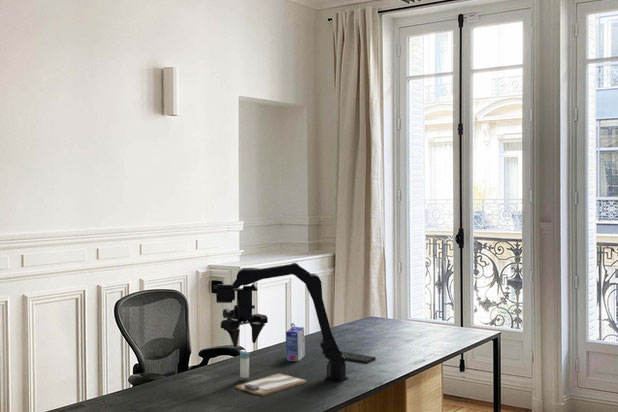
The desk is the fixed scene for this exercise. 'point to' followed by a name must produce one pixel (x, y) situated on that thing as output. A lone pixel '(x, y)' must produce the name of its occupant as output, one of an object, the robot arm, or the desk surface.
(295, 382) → the clipboard
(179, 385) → the desk surface
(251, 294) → the robot arm
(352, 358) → the smart home device
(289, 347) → the ink cartridge box
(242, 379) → the marker
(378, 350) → the desk surface
